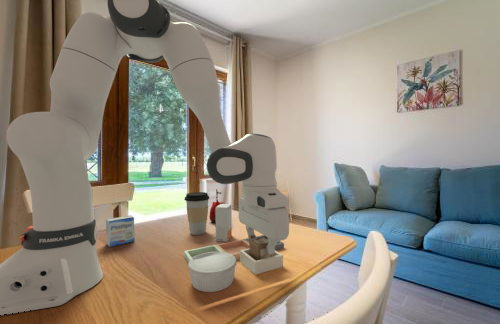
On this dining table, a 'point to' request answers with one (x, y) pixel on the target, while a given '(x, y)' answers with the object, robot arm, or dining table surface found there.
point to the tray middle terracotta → (234, 247)
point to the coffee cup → (197, 211)
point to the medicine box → (120, 230)
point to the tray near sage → (200, 251)
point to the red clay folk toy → (212, 210)
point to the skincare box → (223, 222)
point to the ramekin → (212, 271)
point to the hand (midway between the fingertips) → (260, 246)
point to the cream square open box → (261, 262)
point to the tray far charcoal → (278, 245)
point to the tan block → (258, 249)
